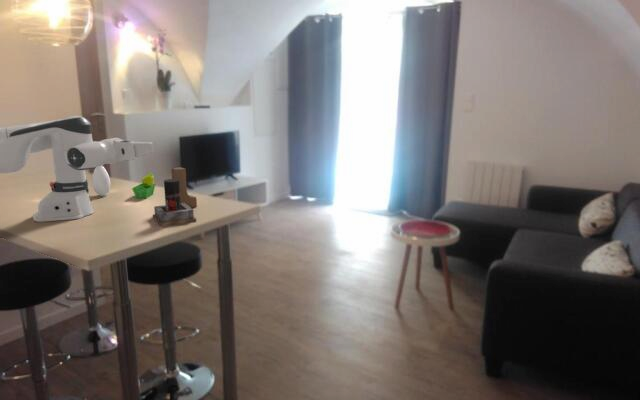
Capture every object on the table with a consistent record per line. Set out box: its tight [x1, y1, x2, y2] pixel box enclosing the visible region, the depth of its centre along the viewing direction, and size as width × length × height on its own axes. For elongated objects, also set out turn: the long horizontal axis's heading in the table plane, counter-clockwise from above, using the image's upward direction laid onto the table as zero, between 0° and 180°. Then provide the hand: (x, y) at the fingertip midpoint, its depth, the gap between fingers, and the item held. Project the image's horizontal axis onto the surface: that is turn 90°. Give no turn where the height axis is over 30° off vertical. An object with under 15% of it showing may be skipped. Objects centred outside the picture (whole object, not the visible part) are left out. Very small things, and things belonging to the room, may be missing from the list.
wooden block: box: [171, 166, 198, 209], centre depth 207 cm, size 9×4×18 cm, turn 134°
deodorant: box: [163, 178, 181, 212], centre depth 189 cm, size 6×6×15 cm
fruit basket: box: [131, 172, 156, 199], centre depth 227 cm, size 11×9×11 cm
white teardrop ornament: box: [91, 165, 111, 197], centre depth 226 cm, size 8×8×18 cm
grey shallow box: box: [152, 203, 197, 227], centre depth 191 cm, size 14×14×5 cm
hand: (145, 144), depth 181 cm, fingers open, 8 cm apart
